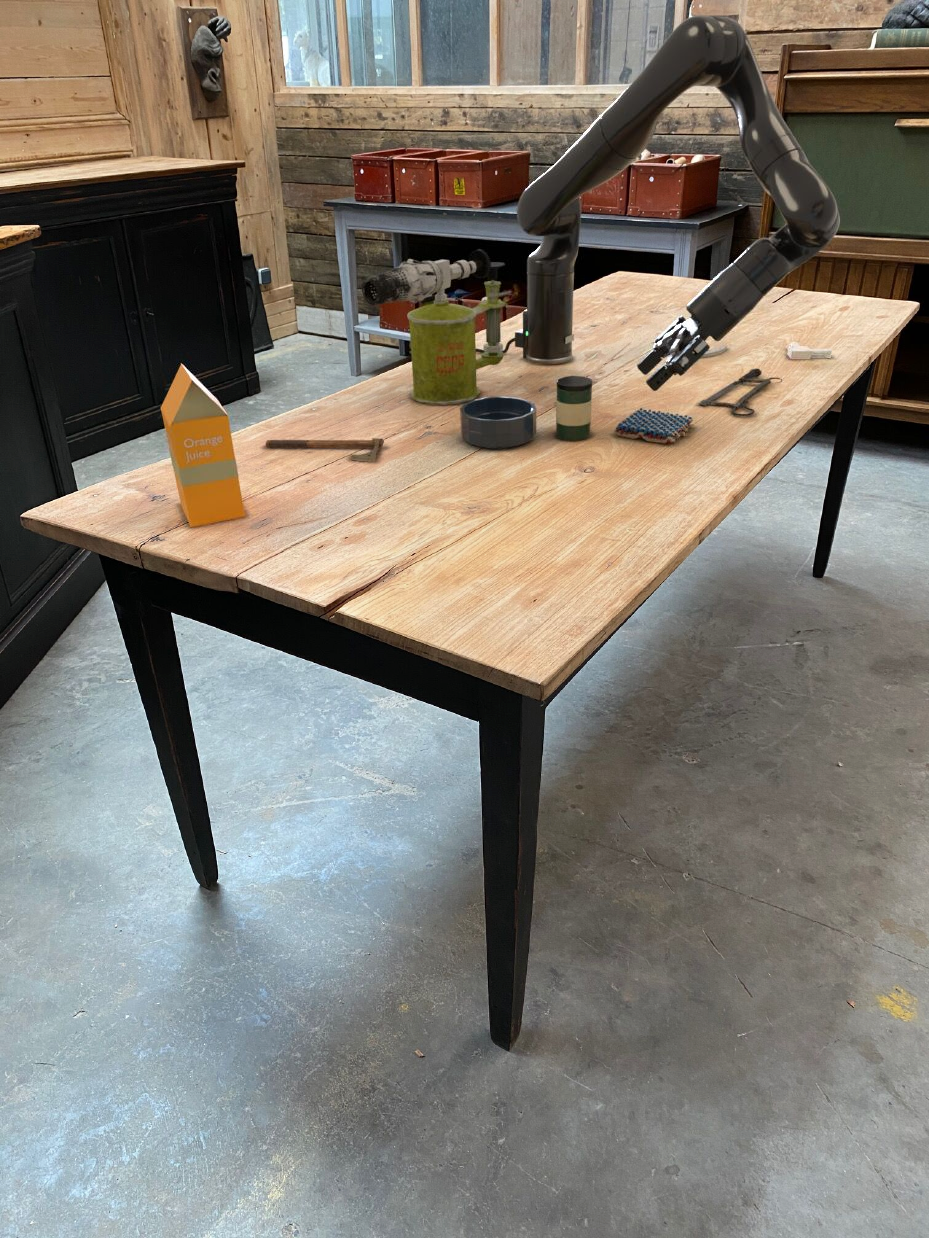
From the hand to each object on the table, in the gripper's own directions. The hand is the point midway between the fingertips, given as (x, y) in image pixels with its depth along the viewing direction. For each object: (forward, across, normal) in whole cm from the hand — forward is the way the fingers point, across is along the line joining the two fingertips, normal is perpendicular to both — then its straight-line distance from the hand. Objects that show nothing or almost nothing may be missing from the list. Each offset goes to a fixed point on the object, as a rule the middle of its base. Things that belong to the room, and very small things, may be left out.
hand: (645, 378), depth 150 cm
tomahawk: (+42, +2, -30) cm, 52 cm away
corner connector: (-22, -42, +35) cm, 60 cm away
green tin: (+14, 0, -2) cm, 14 cm away
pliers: (-6, -44, +19) cm, 49 cm away
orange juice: (+53, +25, -40) cm, 71 cm away
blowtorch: (+30, -24, -16) cm, 42 cm away
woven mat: (+5, 0, +8) cm, 9 cm away
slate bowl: (+23, 0, -10) cm, 25 cm away
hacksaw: (-10, -17, +22) cm, 30 cm away
